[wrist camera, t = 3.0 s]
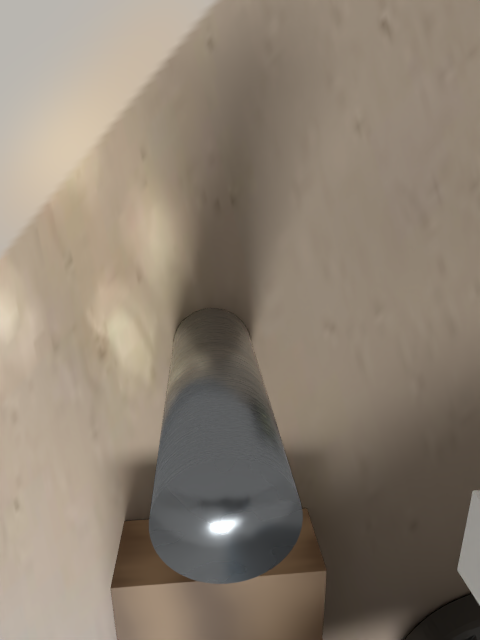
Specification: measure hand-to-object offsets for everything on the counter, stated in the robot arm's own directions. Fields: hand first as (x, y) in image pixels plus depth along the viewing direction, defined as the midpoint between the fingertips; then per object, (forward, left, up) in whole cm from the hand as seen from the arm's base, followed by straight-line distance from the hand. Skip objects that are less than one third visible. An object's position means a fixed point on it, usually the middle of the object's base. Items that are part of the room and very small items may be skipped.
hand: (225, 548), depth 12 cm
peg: (0, 0, -15) cm, 15 cm away
